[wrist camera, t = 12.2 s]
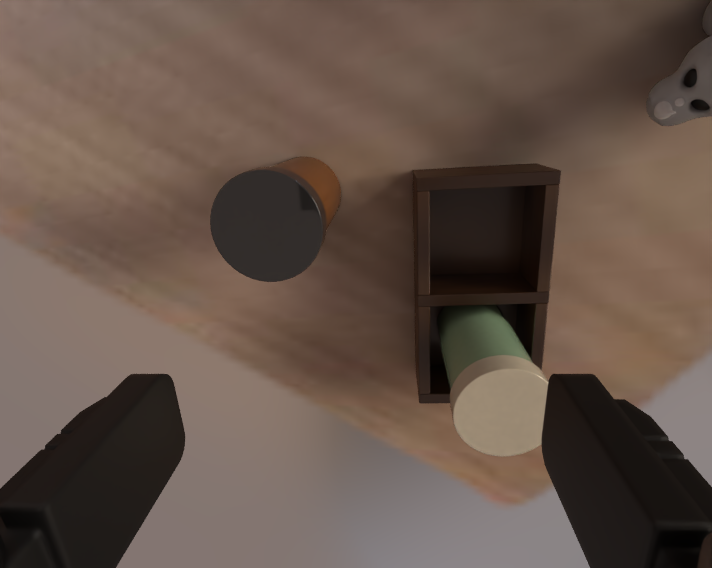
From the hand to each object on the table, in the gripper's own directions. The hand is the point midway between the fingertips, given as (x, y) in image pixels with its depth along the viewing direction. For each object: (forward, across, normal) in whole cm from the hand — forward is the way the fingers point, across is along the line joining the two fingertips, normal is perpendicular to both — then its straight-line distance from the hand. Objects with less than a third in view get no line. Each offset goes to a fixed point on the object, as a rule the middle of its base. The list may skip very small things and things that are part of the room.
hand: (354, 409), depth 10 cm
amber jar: (+24, +5, -1) cm, 25 cm away
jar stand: (+24, -7, +6) cm, 25 cm away
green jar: (+23, -7, +10) cm, 26 cm away
